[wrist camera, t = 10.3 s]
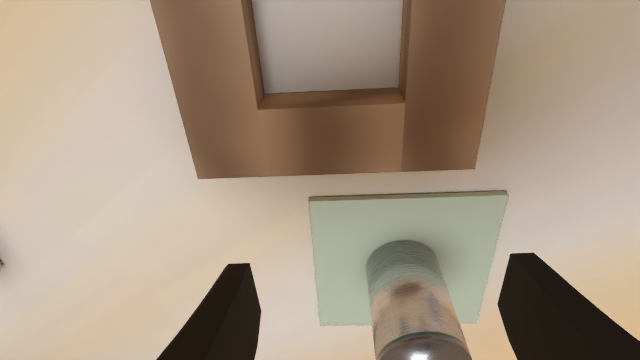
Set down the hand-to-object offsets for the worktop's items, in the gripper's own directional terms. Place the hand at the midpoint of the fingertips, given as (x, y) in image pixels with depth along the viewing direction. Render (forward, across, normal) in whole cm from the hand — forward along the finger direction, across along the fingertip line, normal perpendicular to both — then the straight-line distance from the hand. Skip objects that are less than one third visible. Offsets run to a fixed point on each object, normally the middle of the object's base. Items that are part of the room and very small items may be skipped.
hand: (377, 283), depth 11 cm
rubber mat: (+10, -3, +10) cm, 15 cm away
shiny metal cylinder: (+10, -2, +10) cm, 14 cm away
